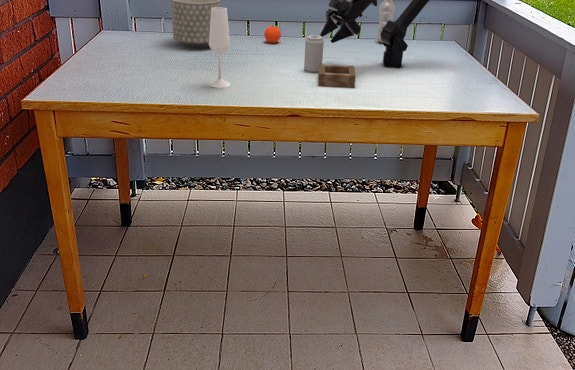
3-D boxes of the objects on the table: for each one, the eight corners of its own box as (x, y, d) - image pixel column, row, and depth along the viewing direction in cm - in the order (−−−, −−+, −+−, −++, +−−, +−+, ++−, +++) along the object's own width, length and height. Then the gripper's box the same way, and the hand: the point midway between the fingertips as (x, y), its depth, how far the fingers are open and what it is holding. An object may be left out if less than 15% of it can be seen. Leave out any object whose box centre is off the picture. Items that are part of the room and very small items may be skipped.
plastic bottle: (392, 44, 245) (398, -4, 236) (376, 44, 245) (381, -5, 236) (390, 41, 251) (395, -7, 241) (374, 40, 251) (379, -7, 241)
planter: (196, 37, 243) (195, -8, 235) (230, 45, 233) (230, -1, 225) (163, 45, 229) (160, -2, 221) (198, 53, 220) (196, 4, 211)
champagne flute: (211, 80, 189) (209, 6, 178) (231, 81, 189) (231, 7, 178) (208, 86, 183) (206, 10, 172) (229, 87, 183) (228, 11, 172)
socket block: (352, 77, 199) (353, 66, 198) (354, 87, 189) (355, 75, 187) (318, 75, 200) (319, 64, 198) (318, 85, 189) (319, 74, 187)
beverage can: (322, 68, 208) (324, 35, 202) (321, 73, 202) (323, 39, 197) (304, 67, 208) (306, 34, 203) (303, 72, 203) (305, 38, 197)
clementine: (275, 39, 245) (275, 22, 242) (285, 43, 241) (286, 25, 237) (260, 42, 240) (261, 24, 237) (271, 45, 236) (272, 28, 232)
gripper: (332, -15, 203) (302, 17, 205) (356, -7, 188) (322, 28, 189) (350, 7, 210) (320, 38, 211) (374, 17, 194) (342, 51, 196)
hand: (325, 39), depth 202 cm, fingers open, 9 cm apart
